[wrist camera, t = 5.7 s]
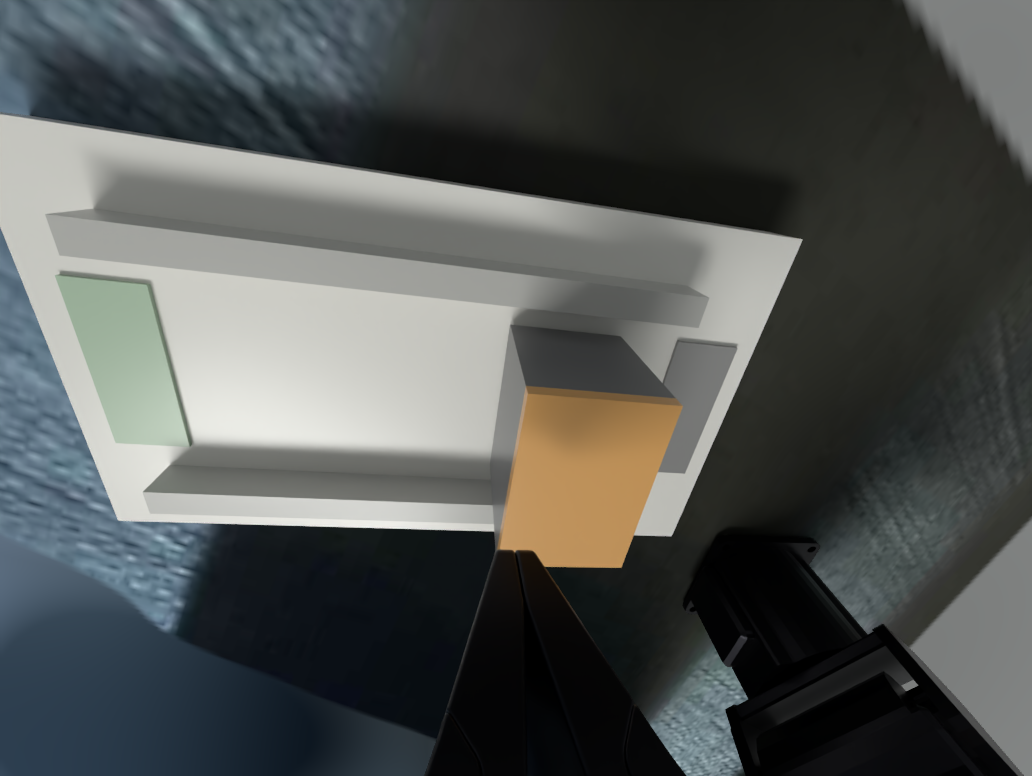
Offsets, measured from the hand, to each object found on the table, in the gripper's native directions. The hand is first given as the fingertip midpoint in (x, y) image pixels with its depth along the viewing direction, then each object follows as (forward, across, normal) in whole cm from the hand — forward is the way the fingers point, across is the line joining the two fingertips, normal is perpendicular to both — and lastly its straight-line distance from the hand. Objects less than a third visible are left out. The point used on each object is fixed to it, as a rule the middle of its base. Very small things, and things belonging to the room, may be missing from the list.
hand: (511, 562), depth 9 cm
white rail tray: (+10, +2, 0) cm, 10 cm away
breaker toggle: (+7, -2, 0) cm, 8 cm away
